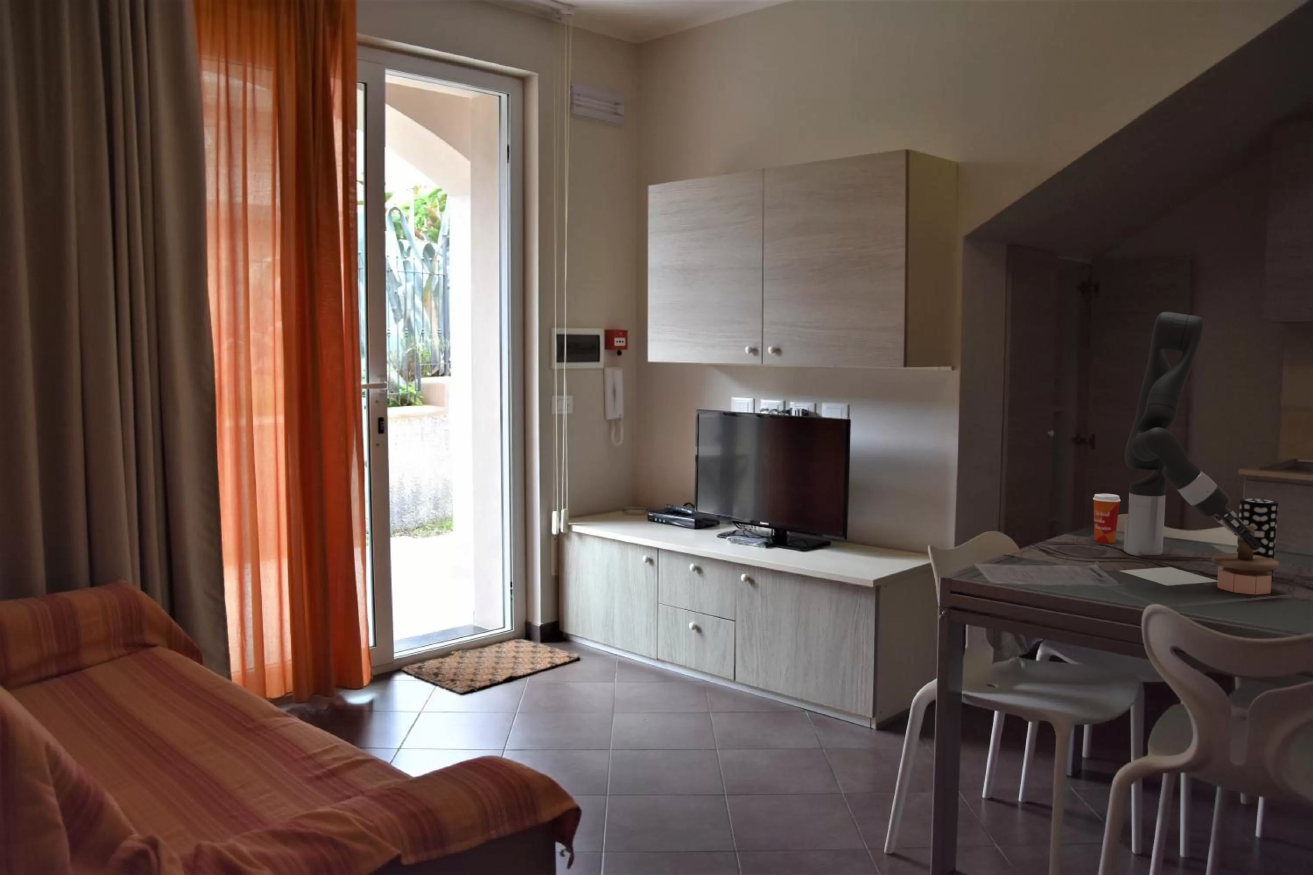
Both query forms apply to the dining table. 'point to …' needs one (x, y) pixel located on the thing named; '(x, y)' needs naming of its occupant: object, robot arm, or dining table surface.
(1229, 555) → the walnut lid
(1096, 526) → the paper cup
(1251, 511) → the spotted tube
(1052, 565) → the dining table surface
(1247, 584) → the terracotta bowl
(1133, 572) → the rubber mat
